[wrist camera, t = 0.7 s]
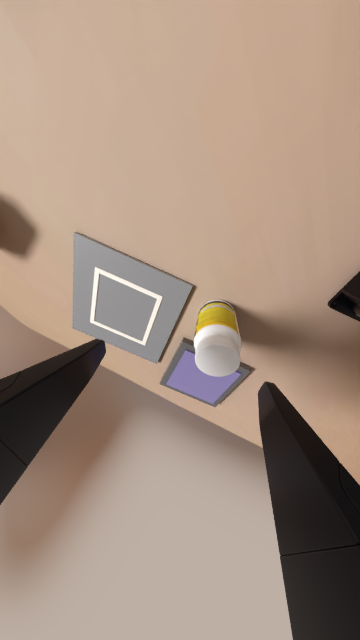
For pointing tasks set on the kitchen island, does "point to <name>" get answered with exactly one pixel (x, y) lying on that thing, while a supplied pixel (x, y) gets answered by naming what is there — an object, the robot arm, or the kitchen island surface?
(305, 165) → the kitchen island surface
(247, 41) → the kitchen island surface
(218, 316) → the supplement bottle
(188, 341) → the pad
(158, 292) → the board
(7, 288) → the kitchen island surface
